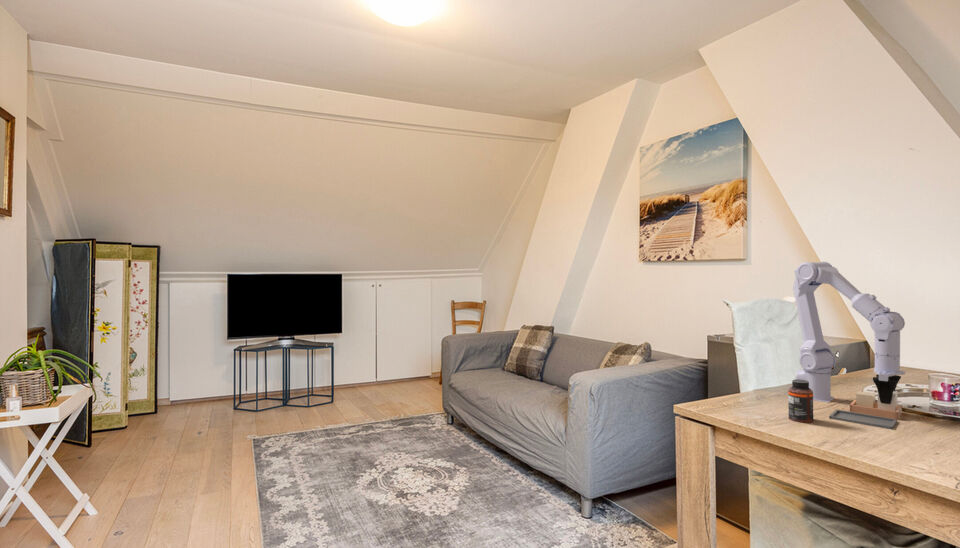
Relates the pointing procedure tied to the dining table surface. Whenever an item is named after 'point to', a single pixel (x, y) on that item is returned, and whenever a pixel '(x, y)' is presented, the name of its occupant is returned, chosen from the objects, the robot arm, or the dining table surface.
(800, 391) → the supplement bottle
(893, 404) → the cream cube on tray
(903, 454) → the dining table surface
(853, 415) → the parts tray
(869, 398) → the tan cube
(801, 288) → the robot arm
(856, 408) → the terracotta dish
